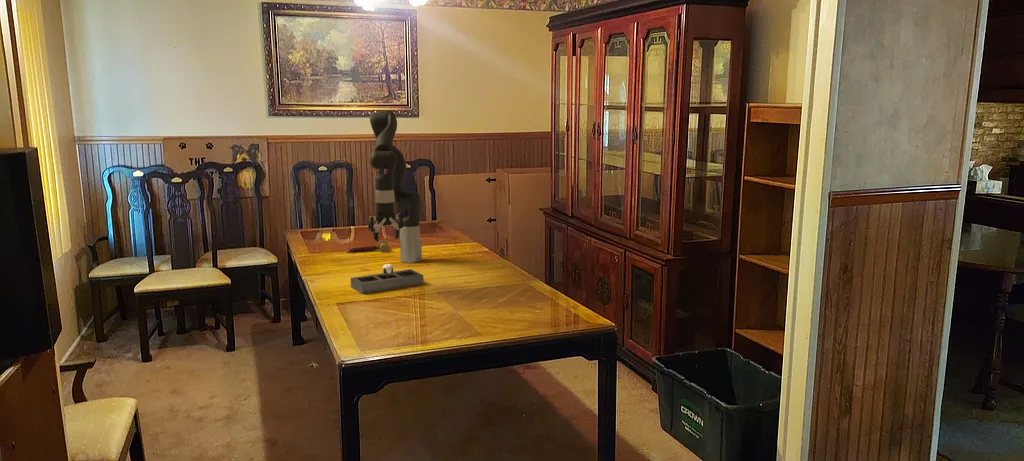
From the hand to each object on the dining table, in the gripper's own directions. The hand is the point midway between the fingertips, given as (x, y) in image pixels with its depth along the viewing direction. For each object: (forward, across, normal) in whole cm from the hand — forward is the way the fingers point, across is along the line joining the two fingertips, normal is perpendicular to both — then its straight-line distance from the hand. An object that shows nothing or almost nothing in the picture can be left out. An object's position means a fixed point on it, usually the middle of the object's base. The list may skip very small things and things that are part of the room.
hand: (386, 240), depth 286 cm
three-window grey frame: (+19, 0, 0) cm, 19 cm away
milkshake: (+20, 0, 0) cm, 20 cm away
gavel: (+20, -18, -67) cm, 72 cm away
